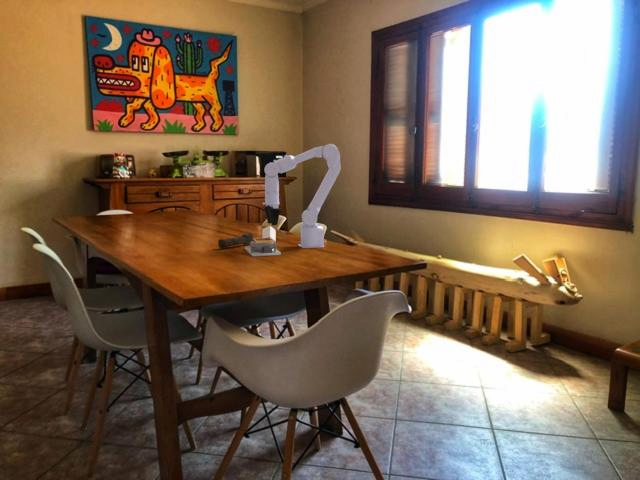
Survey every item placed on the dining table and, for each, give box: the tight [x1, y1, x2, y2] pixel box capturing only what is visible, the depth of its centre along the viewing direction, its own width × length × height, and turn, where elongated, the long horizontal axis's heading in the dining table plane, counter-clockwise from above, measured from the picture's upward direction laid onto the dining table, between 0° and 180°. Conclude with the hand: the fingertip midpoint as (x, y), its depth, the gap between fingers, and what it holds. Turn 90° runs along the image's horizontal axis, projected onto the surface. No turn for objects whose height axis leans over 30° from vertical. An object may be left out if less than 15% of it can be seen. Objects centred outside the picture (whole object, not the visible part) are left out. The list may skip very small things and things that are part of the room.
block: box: [261, 225, 277, 242], centre depth 217 cm, size 4×4×7 cm
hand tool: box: [217, 232, 255, 249], centre depth 216 cm, size 19×4×5 cm, turn 141°
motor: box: [244, 237, 282, 257], centre depth 204 cm, size 11×18×5 cm, turn 18°
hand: (272, 224), depth 216 cm, fingers open, 7 cm apart
